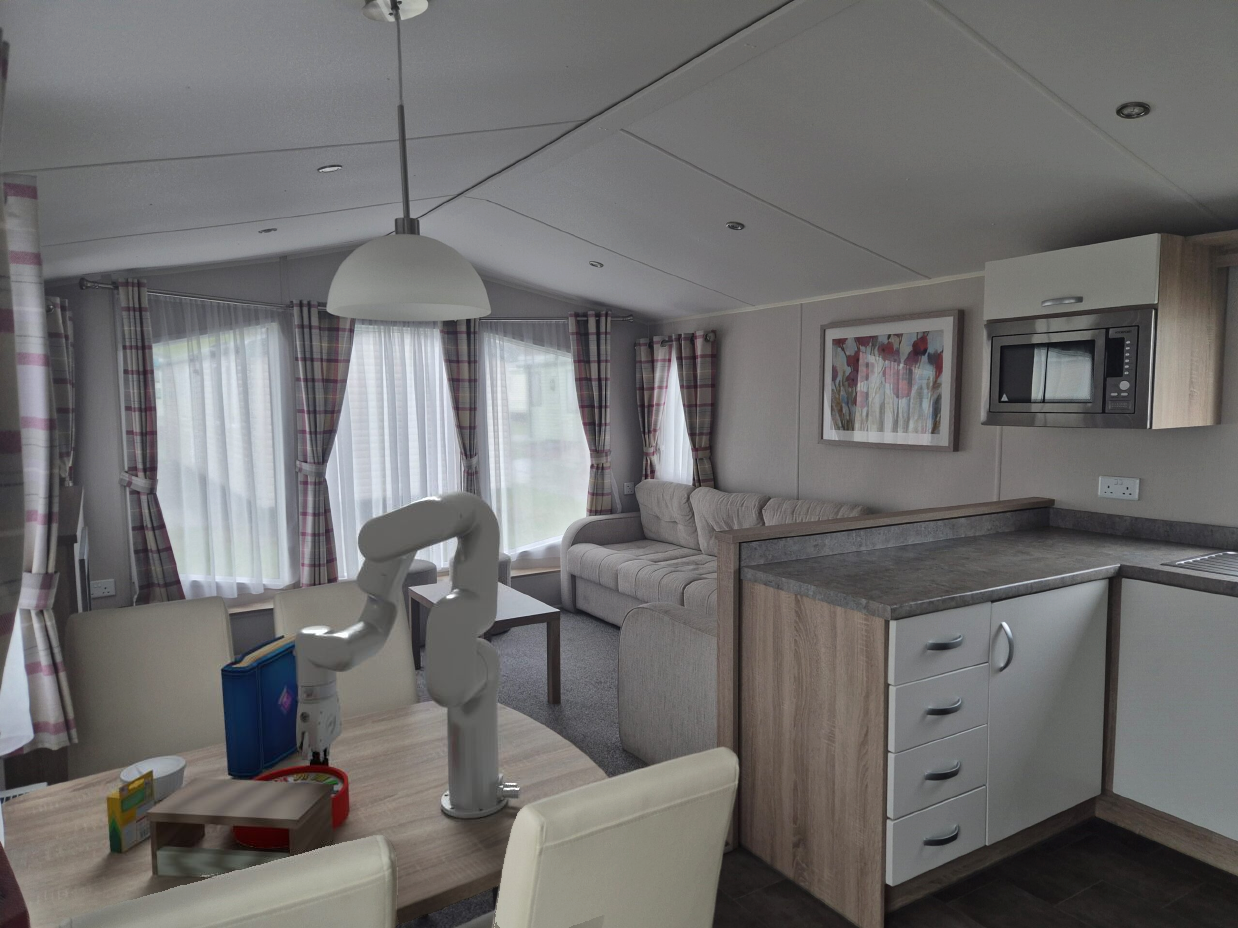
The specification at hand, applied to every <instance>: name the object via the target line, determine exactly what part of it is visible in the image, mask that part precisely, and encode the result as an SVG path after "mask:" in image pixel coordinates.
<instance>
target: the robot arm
mask: <svg viewBox="0 0 1238 928" xmlns="http://www.w3.org/2000/svg"><path fill="white" fill-rule="evenodd" d="M500 535H501V534H500V526H499V522H498V518H497V515H496V514H495V512H494V510H493V509H492V507H491V506H490V505H489V504H488V503H487V502H486V501H485V500H484V499H482V498H481V497H480V496H478V495H476V494H474V493H472V492H468V491H464V490H455V491H447V492H444V493H441V494H436V495H431V496H427V497H424V498H422V499H419V500H416V501H413V502H411V503H409V504H406V505H403V506H400V507H398V508H396V509H394V510H391V511H388V512H386V513H383V514H380V515H378V516H375V517H372V518H370V519H369V520H367V521H366V522H365V523H364V524H363V525H362V527H361V528H360V530H359V533H358V537H357V547H358V550H359V553H360V554H361V556H362V557H363V558H364V560H363V563H362V565H361V568H360V569H359V571H358V573H357V576H356V585H357V587H358V588H359V589H360V591H361V592H363V593H364V594H365V595H367V597H366V601H365V604H364V607H363V609H362V612H361V614H360V616H359V618H358V619H357V621H356V623H355V624H352V625H351V626H349V627H347V628H344V629H342V630H340V631H337V632H335V630H334V628H332V627H331V626H327V625H311V626H307V627H304V628H301V629H299V630H298V631H297V632H296V634H295V635H294V636H295V657H296V687H297V700H298V701H299V702H298V708H297V722H296V740H297V748H298V750H297V751H298V752H301V753H302V754H301V760H303V761H308V762H309V765H324V766H330V762H329V757H330V753H331V744H332V743H334V741H336V740H337V739H338V738H339V737H341V734H342V731H343V728H342V727H343V726H342V711H341V703H340V698H339V697H340V696H339V694H338V686H337V685H338V683H337V678H338V677H337V673H344V672H348V671H350V670H353V669H355V668H356V667H357V666H359V665H361V664H362V663H364V662H367V661H368V660H369V659H371V658H373V657H375V656H376V655H378V654H379V653H380V651H382V649H383V648H384V646H385V645H386V643H387V641H388V639H389V636H390V635H391V633H392V630H393V628H394V627H395V626H394V625H395V624H396V622H397V618H398V615H399V609H400V608H399V607H400V606H399V603H400V597H399V595H400V594H399V593H400V591H401V589H402V587H403V584H404V581H405V579H406V577H407V576H408V575H407V574H408V573H409V570H410V569H411V566H412V564H413V562H414V560H415V557H416V556H417V554H418V552H419V551H421V550H424V549H426V548H429V547H431V546H432V547H433V546H435V545H438V544H440V543H444V542H445V541H448V540H452V539H454V538H456V539H457V545H456V549H455V552H454V556H453V561H452V581H451V588H450V589H451V590H450V592H449V593H448V594H446V595H444V596H442V597H441V598H439V600H437V601H436V602H435V603H434V604H433V606H432V608H431V610H430V611H429V614H428V618H427V621H426V626H425V627H426V629H425V646H424V648H425V649H424V670H423V671H424V673H423V674H424V678H423V679H424V686H425V689H426V692H427V694H428V696H429V697H430V699H431V700H432V702H434V703H435V704H436V705H438V706H439V707H442V708H446V731H447V734H446V737H447V768H448V770H447V773H448V775H447V776H448V779H447V780H448V790H447V791H445V792H444V793H443V794H442V796H441V798H440V808H441V810H442V811H443V813H445V814H446V815H448V816H450V817H452V818H458V819H478V818H483V817H486V816H490V815H493V814H495V813H497V812H498V811H500V810H501V809H502V808H504V806H505V805H506V804H507V802H508V798H509V799H517V800H518V799H519V800H520V798H521V794H522V793H521V787H518V783H517V782H506V781H505V780H504V773H500V772H499V733H498V732H499V729H498V727H499V725H498V723H499V721H498V717H499V716H498V715H499V714H498V705H499V704H498V698H499V688H500V687H499V685H500V680H501V679H500V678H501V677H500V676H501V661H500V655H499V653H498V651H497V649H496V647H495V646H494V645H493V644H492V643H491V642H490V641H488V640H487V639H484V638H481V637H480V636H481V635H483V634H484V633H485V632H487V631H488V630H489V629H491V627H492V626H493V625H494V623H495V622H496V618H497V613H498V593H499V592H498V591H499V590H498V589H499V561H500V560H499V559H500V558H499V557H500V548H501V547H500V545H501V541H500V540H501V539H500V538H501V536H500Z"/></svg>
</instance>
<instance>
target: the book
mask: <svg viewBox="0 0 1238 928" xmlns="http://www.w3.org/2000/svg"><path fill="white" fill-rule="evenodd" d="M295 636H296V635H290V636H286V637H285V635H284V634H283V635H280V636H278V637H275V638H272V639H269V640H268V641H265V642H262V643H261V644H258V645H257V646H255V647H253V648H252V649H249V650H247V651H246V652H244V653H241V655H240V656H239V657H238V658H237V659H236V660H234V661H230V662H229V663H227V664H226V665H223V666H222V668H221V669H220V673H221V674H220V675H221V676H220V677H221V678H220V679H221V692H222V704H223V705H222V706H223V718H224V719H223V721H224V731H225V732H224V735H225V737H224V739H225V746H226V747H225V750H226V752H225V753H226V765H227V776H230V777H232V778H235V779H237V780H253V779H255V778H257V777H259V776H260V775H261V774H262V773H263V771H266V770H269V769H272V768H274V767H276V766H277V765H279V764H280V763H281V762H282V761H284V760H285V759H287V758H288V757H290V756H291V755H293V754H294V753H296V751H299V750H298V748H297V740H296V722H297V708H298V702H299V701H298V700H297V687H296V657H295Z"/></svg>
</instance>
